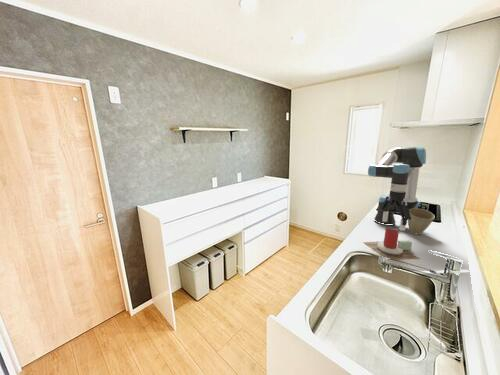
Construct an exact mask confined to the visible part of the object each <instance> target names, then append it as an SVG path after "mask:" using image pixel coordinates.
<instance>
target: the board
mask: <svg viewBox="0 0 500 375" xmlns="http://www.w3.org/2000/svg"><path fill="white" fill-rule="evenodd" d="M379 242H380V241H364V242H362V243H363V244H364V245H365V246H367V247H368V248H370V249H371V250H373V252H376V253H377V254H378V255H379V256H381V257H382V256H383V257H382V258H384V257H387V258H390V259H393V260H392V261H394V260H397V261H398V260H400V261H401V260H421V258H420V257H418V256H417V255H415V254H414V253H411V252H410V251H409V250H403V253H402V254H401V255H392V254H388V253H385V252H382V251H380V250H379V249H378V248H377V243H379Z"/></svg>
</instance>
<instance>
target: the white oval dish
mask: <svg viewBox="0 0 500 375" xmlns="http://www.w3.org/2000/svg"><path fill="white" fill-rule="evenodd" d="M378 242H379V243H377V248H378V249H379V250H380V251H382V252H385V253H388V254H392V255H401V254H402V253H403V250H407V251H410V250H412V246H413V242H412V240H398V241H397V247H396V248H395V249H390V248H387V247H385V246H384V241H378Z"/></svg>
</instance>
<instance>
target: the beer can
mask: <svg viewBox="0 0 500 375" xmlns="http://www.w3.org/2000/svg"><path fill="white" fill-rule="evenodd" d="M398 241H399V228H397V227H394V226H386V229H385V231H384V238H383V242H384V246H385V247H387V248H390V249H395V248H396V247H397V245H398Z"/></svg>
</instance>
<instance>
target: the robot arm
mask: <svg viewBox="0 0 500 375" xmlns="http://www.w3.org/2000/svg"><path fill="white" fill-rule="evenodd" d="M426 162H427V150H426V148H425V147H419V146H407V147H403V146H402V147H395V148H392V149H389V150H387V151H385V152H384V153H383V154H382V156H381V159H379V161H378V162H377V163H376V164H370V165H369V166H368V170H367V175H368V176H369V177H374V178H387V179H391V180H390V191H389V194H388V195H383V196H380V197H379V199H378V204H377V205H378V206H377V212H376V215H375V217H374V219H375V220H376V221H377V222H380V223H384V224H395V225H396V220H395V219H396V218H395V213H396V214H400V217H401V219H400V222H399V228H398V231H406V226H408V220H411V216H410V212H409V209H412V208H418V209H419V206H420V201H419V200H418V198H417V196H416V194H417V190H418V182H419V174H420V169H421V168H422V167H423V165H425V164H426Z"/></svg>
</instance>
